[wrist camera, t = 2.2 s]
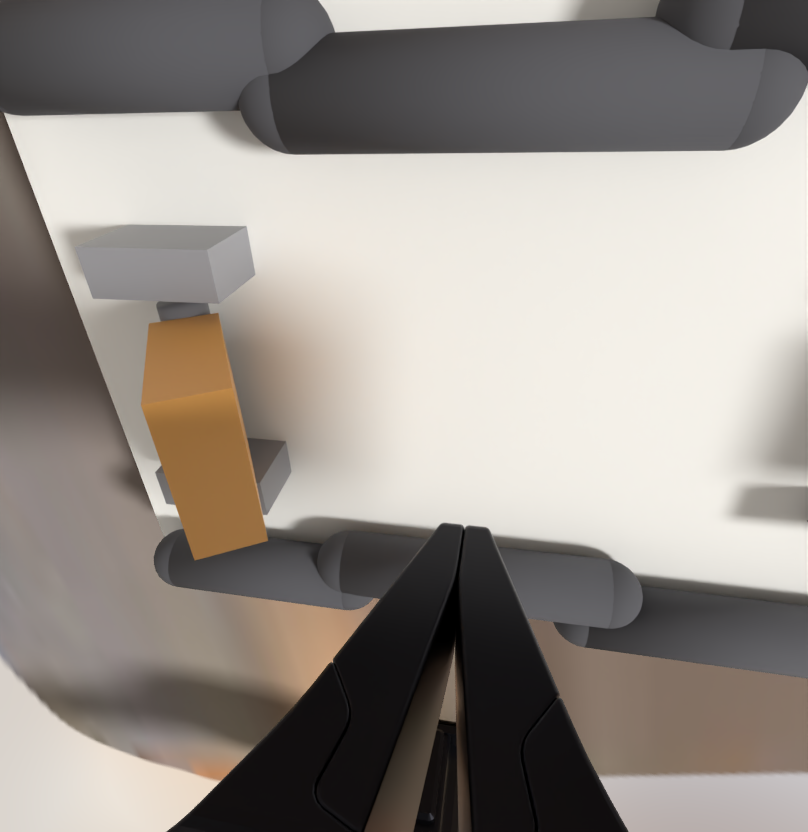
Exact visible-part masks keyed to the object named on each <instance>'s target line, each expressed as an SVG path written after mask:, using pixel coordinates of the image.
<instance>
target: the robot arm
mask: <svg viewBox="0 0 808 832" xmlns="http://www.w3.org/2000/svg"><path fill="white" fill-rule="evenodd" d="M455 640H456V641H455ZM454 647H455V687H456V727H455V726H449V725H443V724H438V721H439V717H440V712H441V708H442V704H443V699H444V695H445V690H446V686H447V682H448V677H449V673H450V668H451V664H452V659H453V654H454ZM559 696H560V694H559V691H558V689H557V687H556V684H555V682H554V680H553V677H552V675H551V672H550V670H549V668H548V665H547V663H546V661H545V658H544V656H543V654H542V651H541V649H540V647H539V644H538V642H537V640H536V637H535V635H534V632H533V630H532V628H531V625H530V623H529V621H528V618H527V616H526V614H525V611H524V609H523V607H522V604H521V602H520V600H519V597H518V595H517V592H516V590H515V588H514V585H513V583H512V581H511V578H510V576H509V574H508V571H507V569H506V567H505V564H504V562H503V560H502V557H501V555H500V552H499V550H498V548H497V545H496V543H495V541H494V538H493V536H492V534H491V531H490V530H489V528H487V527H482V526H473V525H468V526H466V527H465V529H464V526H463V525H461V524H454V523H441V524H440V525H439V526H438V527H437V528H436V530H435V531H434V532H433V533H432V535H431V536H430V537H429V538H428V540H427V541H426V542H425V544H424V545H423V546H422V547H421V549H420V550H419V551H418V552H417V554H416V555H415V556H414V557H413V559H412V560H411V561H410V562H409V564H408V565H407V566H406V568H405V569H404V570H403V571H402V573H401V574H400V575H399V576H398V578H397V579H396V580H395V581H394V583H393V584H392V585H391V586H390V588H389V589H388V590H387V591H386V593H385V594H384V595H383V597H382V598H381V599H380V600H379V602H378V603H377V604H376V605H375V607H374V608H373V609H372V610H371V612H370V613H369V614H368V615H367V617H366V618H365V619H364V620H363V622H362V623H361V624H360V626H359V627H358V628H357V629H356V631H355V632H354V633H353V634H352V636H351V637H350V638H349V639H348V641H347V642H346V643H345V644H344V646H343V647H342V648H341V650H340V651H339V652H338V653H337V655H336V656H335V657H334V658H333V663H332V662H331V663H329V664H328V666H327V667H326V668H325V669H324V671H323V672H322V673H321V674H320V676H319V677H318V678H317V679H316V681H315V682H314V683H313V684H312V686H311V687H310V688H309V689H308V690H307V691H306V693H305V694H304V695H303V696H302V697H301V699H300V700H299V701H298V702H297V703H296V704H295V706H294V707H293V708H292V709H291V710H290V711H289V712H288V713H287V714H286V715H285V716H284V717H283V718H282V720H281V721H280V722H279V723H278V724H277V725H276V726H275V727H274V728H273V729H272V730H271V731H270V732H269V733H268V734H267V735H266V736H265V737H264V738H263V739H262V740H261V741H260V742H259V743H258V744H257V745H256V746H255V747H254V748H253V749H252V750H251V752H250V753H249V754H248V755H247V756H246V757H245V758H244V759H243V760H242V761H241V762H240V763H239V764H238V765H237V766H236V767H235V768H234V769H233V770H232V771H231V772H230V773H229V774H228V775H227V776H226V777H225V778H224V779H223V780H222V781H221V782H220V783H219V784H218V785H217V786H216V787H215V788H214V789H213V790H212V791H211V792H210V793H209V794H208V795H207V796H206V797H205V798H204V799H203V800H202V801H201V802H200V803H199V804H198V805H197V806H196V807H195V808H194V809H193V810H192V811H191V812H190V813H188V814H187V815H186V816H185V817H184V818H183V819H182V820H181V821H179V822H178V823H177V824H176V825H175V826H173V827H172V828H171V829H169V830H168V831H167V832H628V830H627V828H626V827H625V825H624V823H623V821H622V819H621V818H620V816H619V814H618V812H617V810H616V809H615V807H614V805H613V803H612V801H611V800H610V798H609V796H608V794H607V792H606V790H605V789H604V787H603V785H602V783H601V781H600V779H599V777H598V775H597V773H596V771H595V770H594V768H593V766H592V764H591V762H590V760H589V758H588V756H587V754H586V752H585V750H584V747H583V745H582V743H581V741H580V739H579V737H578V734H577V732H576V730H575V728H574V726H573V724H572V721H571V719H570V717H569V714H568V712H567V710H566V707H565V705H564V702H563V700H562V699H561V698H559Z"/></svg>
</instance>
